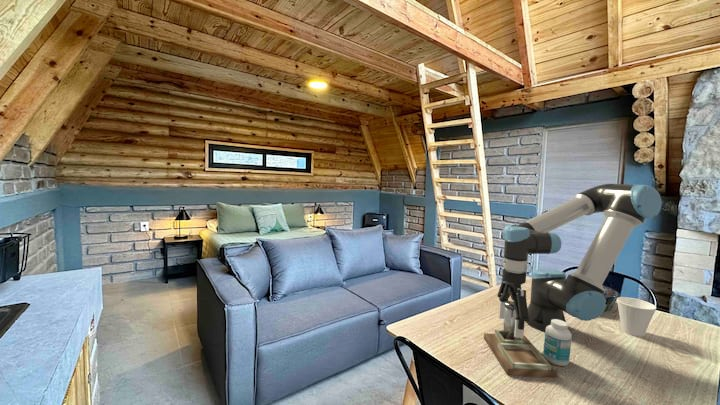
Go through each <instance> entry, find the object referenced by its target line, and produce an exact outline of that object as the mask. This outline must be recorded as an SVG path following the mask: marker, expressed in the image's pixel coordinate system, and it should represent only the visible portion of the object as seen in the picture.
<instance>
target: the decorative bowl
mask: <svg viewBox="0 0 720 405" xmlns="http://www.w3.org/2000/svg"><path fill="white" fill-rule="evenodd" d="M602 286H603V288H604V290H605V291H604V293H603V296H604V297H605V299H606V303H605V304H606V308H605V310H604V312H603V313H606V312H607V311H610V310H611V309H612V308H613V307H614V305H615V303H616V302H617V298H619V297H622V296H621V294H620V293H619V292H618V291H617V290H615V289H614V288H612V287H609V286H605V285H604V284H602Z"/></svg>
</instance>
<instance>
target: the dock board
mask: <svg viewBox="0 0 720 405" xmlns="http://www.w3.org/2000/svg"><path fill="white" fill-rule="evenodd" d="M503 330H504V329H494V333H486V332H485V333H483V339H484V341H485V342H486V345H487V346H488V347H489V349H490V351H491V353H492V354H493V355H494V357H495V358H496V359H497V361H498V364H499V365H500V366H501V368H502V369H503V371H504V373H505V374H506V375H507V376H519V377H532V378H533V377H536V378H551V379H558V370H556V369H555V368H554V366H553V365H552V363H550V362H548V361H547V360H546V359H545V358H544V356H543V354H542V353H541V352H540V351H539V350H538V349H537V348H536V346H535V345H534V344H533V343H532V342H531V341H530V339H529V338H528V337H527V336H525V335H524V336H523V338H516V337H515V340H505V339H504V338H503Z"/></svg>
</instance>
